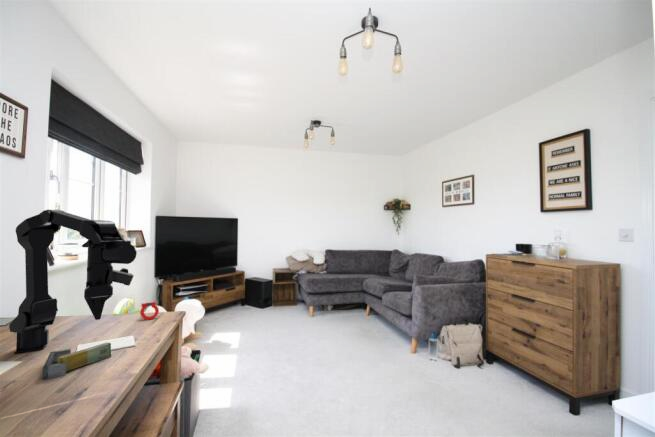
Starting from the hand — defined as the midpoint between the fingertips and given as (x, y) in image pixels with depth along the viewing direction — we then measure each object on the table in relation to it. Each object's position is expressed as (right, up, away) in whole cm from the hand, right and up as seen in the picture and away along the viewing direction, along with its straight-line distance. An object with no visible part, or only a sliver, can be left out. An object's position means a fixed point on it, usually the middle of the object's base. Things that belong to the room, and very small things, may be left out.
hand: (97, 315), depth 87 cm
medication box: (0, -13, -4) cm, 13 cm away
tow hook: (-8, -16, +38) cm, 42 cm away
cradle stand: (-6, -12, -7) cm, 15 cm away
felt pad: (-3, -13, +8) cm, 15 cm away
